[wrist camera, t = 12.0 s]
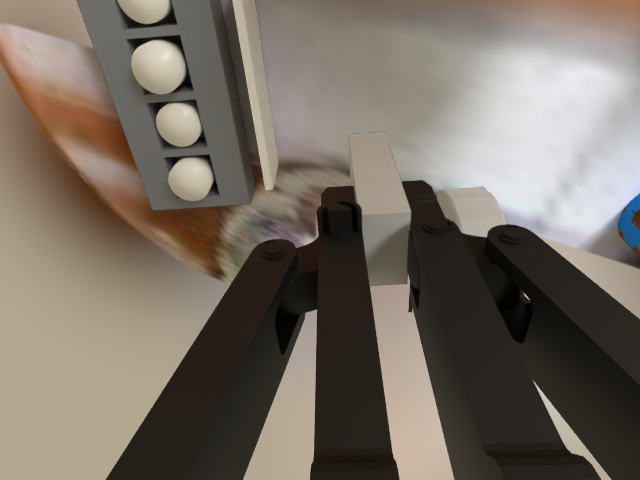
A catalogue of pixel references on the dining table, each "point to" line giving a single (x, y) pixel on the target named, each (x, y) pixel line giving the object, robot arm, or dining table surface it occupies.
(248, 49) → the card
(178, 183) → the button
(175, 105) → the button
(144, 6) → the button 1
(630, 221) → the thermos
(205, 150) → the board
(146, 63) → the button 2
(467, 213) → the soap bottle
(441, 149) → the dining table surface
